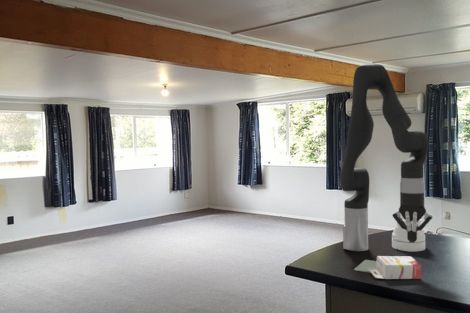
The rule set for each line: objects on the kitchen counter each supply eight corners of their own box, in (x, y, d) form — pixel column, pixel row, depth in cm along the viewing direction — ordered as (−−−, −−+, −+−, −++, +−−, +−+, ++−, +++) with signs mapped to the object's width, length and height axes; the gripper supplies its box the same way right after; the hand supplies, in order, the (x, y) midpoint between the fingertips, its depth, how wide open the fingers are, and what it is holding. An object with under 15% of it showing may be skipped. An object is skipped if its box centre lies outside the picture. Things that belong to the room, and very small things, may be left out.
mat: (354, 270, 153) (354, 269, 153) (365, 260, 164) (365, 259, 164) (402, 277, 145) (402, 275, 145) (410, 266, 156) (410, 265, 156)
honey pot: (428, 245, 184) (427, 202, 183) (422, 252, 173) (422, 207, 173) (395, 242, 191) (395, 200, 190) (388, 249, 180) (388, 205, 179)
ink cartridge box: (421, 264, 142) (376, 264, 141) (421, 279, 142) (375, 279, 142) (410, 255, 150) (367, 255, 150) (409, 269, 151) (367, 269, 150)
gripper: (389, 191, 149) (389, 242, 149) (431, 193, 142) (431, 246, 142) (394, 188, 155) (394, 237, 156) (435, 190, 148) (435, 241, 149)
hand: (412, 241), depth 149 cm, fingers closed
